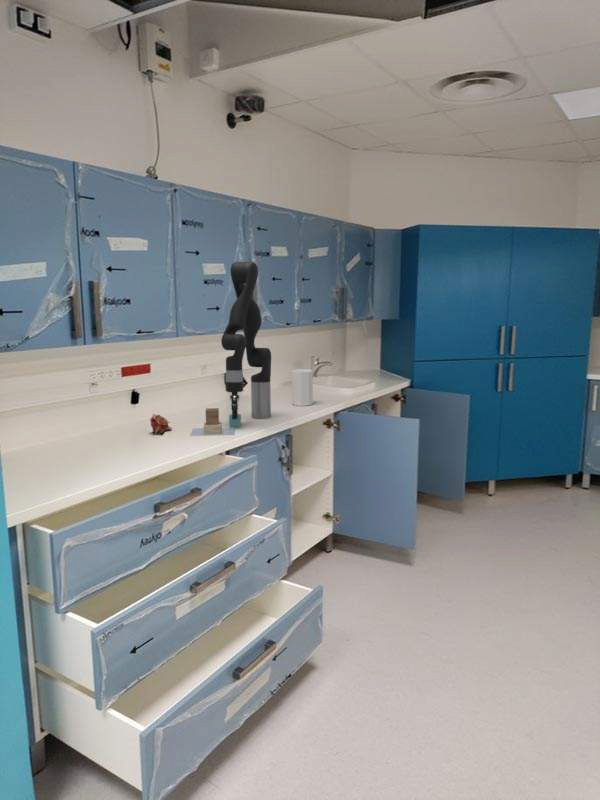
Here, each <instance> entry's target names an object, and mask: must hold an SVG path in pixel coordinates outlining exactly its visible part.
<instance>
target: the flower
mask: <svg viewBox="0 0 600 800" xmlns="http://www.w3.org/2000/svg"><path fill="white" fill-rule="evenodd" d="M149 419H150V427H152V433H153V434H155V433H156V432H157V433H158V434H160V435H162V434H163V433H166V431H167V430H172V429H173V428H172V427H171V426H170V425H169V424H170V421H168V419H167V418H165V417H164V416H163V415H161V414H155V413H153V414H152V416H151V417H150V418H149Z"/></svg>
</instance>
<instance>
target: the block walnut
mask: <svg viewBox="0 0 600 800" xmlns="http://www.w3.org/2000/svg"><path fill="white" fill-rule="evenodd" d="M219 415H220V411H219V407H218V408H216V407H214V408H212V407H211V408H210V407H209V408H205V422H206V425H218V424H219V422H220V416H219Z"/></svg>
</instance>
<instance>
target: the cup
mask: <svg viewBox="0 0 600 800" xmlns="http://www.w3.org/2000/svg"><path fill="white" fill-rule="evenodd" d="M313 372H314V371H313V370H312V369H308V368H307V369H306V368H305V369H303V368H302V369H301V368H300V369H292V370H291V404H292V405H293V404H294V405H300V406H299V407H307V406H306V405H310V406H312V405H314V404H313V403H314V401H313V399H314V395H313V393H314V391H313V390H314V387H313V385H314V384H313V383H314V375H313V374H314V373H313ZM294 405H293V406H294Z"/></svg>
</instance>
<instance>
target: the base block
mask: <svg viewBox="0 0 600 800" xmlns="http://www.w3.org/2000/svg"><path fill="white" fill-rule="evenodd" d="M222 425H223V424H222V421H219V424H218V425H206V421H204V423H203V428H204V435H208V436H211V435H210V434H221V432H222V428H223V426H222Z"/></svg>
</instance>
